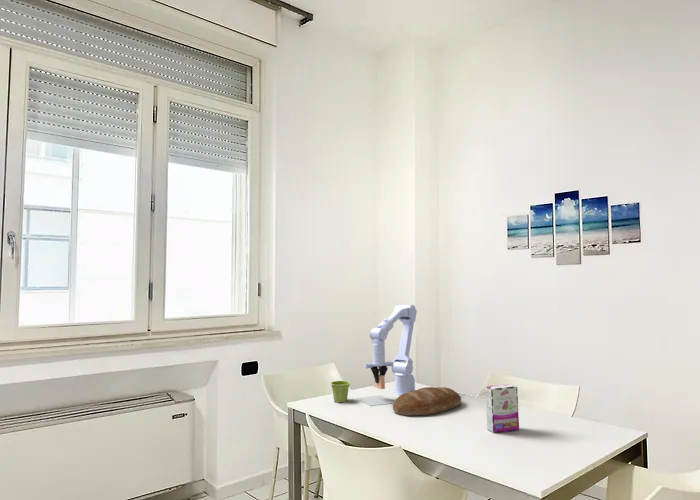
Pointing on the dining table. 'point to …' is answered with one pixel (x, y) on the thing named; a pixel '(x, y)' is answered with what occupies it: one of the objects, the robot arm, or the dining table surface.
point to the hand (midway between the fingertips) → (379, 382)
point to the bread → (426, 401)
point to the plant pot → (340, 390)
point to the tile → (380, 382)
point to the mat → (375, 400)
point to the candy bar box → (502, 408)
